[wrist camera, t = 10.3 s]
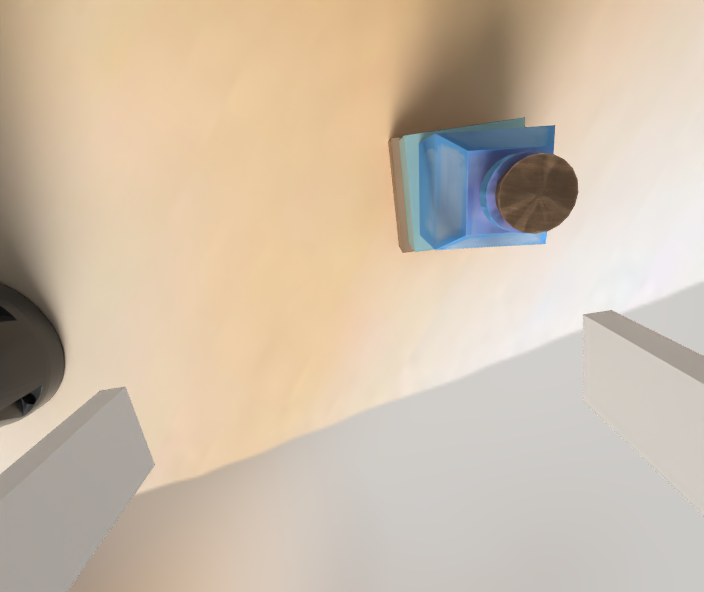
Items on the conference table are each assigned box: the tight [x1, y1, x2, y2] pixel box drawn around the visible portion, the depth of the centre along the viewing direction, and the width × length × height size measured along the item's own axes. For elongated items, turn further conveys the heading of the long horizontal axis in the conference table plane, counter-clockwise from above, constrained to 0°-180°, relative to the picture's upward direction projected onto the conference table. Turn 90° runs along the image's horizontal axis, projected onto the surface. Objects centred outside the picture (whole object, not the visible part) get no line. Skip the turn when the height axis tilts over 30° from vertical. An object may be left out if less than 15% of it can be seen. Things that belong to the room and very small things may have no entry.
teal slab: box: [399, 117, 525, 252], centre depth 29 cm, size 8×8×4 cm
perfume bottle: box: [419, 125, 578, 250], centre depth 22 cm, size 6×6×12 cm
